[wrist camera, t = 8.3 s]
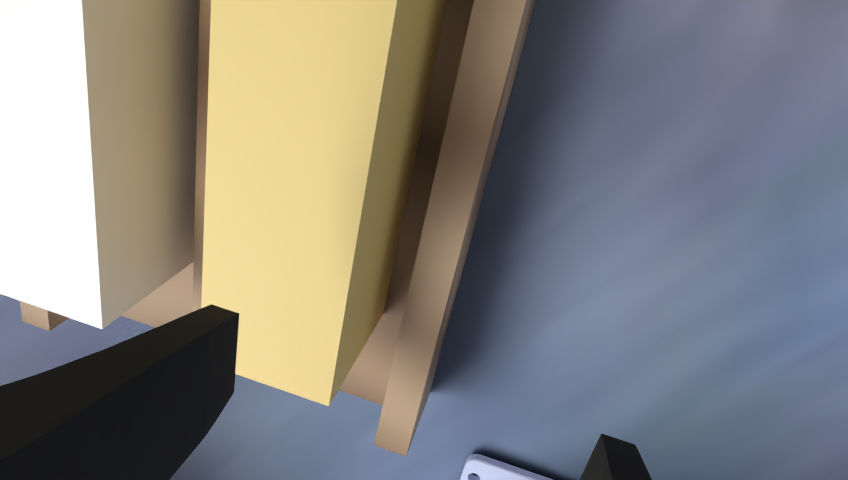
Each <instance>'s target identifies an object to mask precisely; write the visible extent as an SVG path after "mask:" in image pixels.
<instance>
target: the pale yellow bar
mask: <svg viewBox="0 0 848 480" xmlns="http://www.w3.org/2000/svg"><path fill="white" fill-rule="evenodd" d="M447 1H448V0H211V19H210V50H209V81H208V113H207V144H206V175H205V206H204V238H203V269H202V300H201V308H203V307H206V306H208V305H211V304H212V305H215V306H218V307H221V308H224V309H227V310H230V311H233V312H236V313H239V326H238V340H237V355H236V369H235V374H237V375H240V376H243V377H246V378H249V379H252V380H254V381H257V382H260V383H263V384H266V385H269V386H272V387H275V388H278V389H280V390H283V391H286V392H289V393H292V394H295V395H298V396H301V397H304V398H306V399H309V400H312V401H315V402H318V403H321V404H324V405H327V406H329V405H330V403H331V402H332V400H333V398H334V397H335V395H336V393H337V392H338V390H339V388H340V386H341V385H342V383H343V381H344V380H345V378H346V376H347V375H348V373H349V371H350V369H351V368H352V366H353V364H354V363H355V361H356V359H357V358H358V356H359V354H360V352H361V351H362V349H363V347H364V346H365V344H366V342H367V341H368V339H369V337H370V336H371V334H372V332H373V330H374V329H375V327H376V325H377V324H378V322H379V320H380V319H381V317H382V315H383V313H384V308H385V303H386V298H387V294H388V289H389V284H390V279H391V274H392V269H393V264H394V260H395V255H396V250H397V245H398V240H399V235H400V230H401V225H402V221H403V216H404V211H405V206H406V201H407V196H408V191H409V186H410V182H411V177H412V172H413V167H414V162H415V157H416V152H417V148H418V143H419V138H420V133H421V128H422V123H423V118H424V113H425V109H426V104H427V99H428V94H429V89H430V84H431V79H432V74H433V70H434V65H435V60H436V55H437V50H438V45H439V40H440V36H441V31H442V26H443V21H444V16H445V11H446V6H447Z"/></svg>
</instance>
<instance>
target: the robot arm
mask: <svg viewBox="0 0 848 480" xmlns="http://www.w3.org/2000/svg"><path fill="white" fill-rule="evenodd" d="M238 326H239V313H236V312H233V311H230V310H227V309H224V308H221V307H218V306H215V305H212V304H211V305H208V306H206V307H203V308H201V309H198V310H196V311H193V312H191V313H189V314H186V315H184V316H182V317H179V318H177V319H175V320H173V321H170V322H168V323H166V324H163V325H161V326H159V327H157V328H154V329H152V330H150V331H147V332H145V333H142V334H140V335H138V336H135V337H133V338H131V339H128V340H126V341H123V342H121V343H119V344H116V345H114V346H112V347H109V348H107V349H104V350H102V351H99V352H96V353H94V354H91V355H88V356H86V357H83V358H80V359H78V360H75V361H72V362H70V363H67V364H64V365H62V366H59V367H56V368H54V369H51V370H49V371H46V372H43V373H40V374H37V375H34V376H31V377H28V378H25V379H22V380H19V381H16V382H12V383H9V384H6V385H2V386H0V480H169V479H170V478H171V477H172V476H173V474H174V473H175V472H176V471H177V470H178V468H179V467H180V466H181V465H182V464H183V462H184V461H185V460H186V459H187V458H188V456H189V455H190V454H191V453H192V452H193V450H194V449H195V448H196V447H197V446H198V444H199V443H200V442H201V441H202V440H203V438H204V437H205V436H206V434H207V433H208V431H209V430H210V429H211V427H212V426H213V424H214V423H215V421H216V420H217V418H218V417H219V415H220V413H221V412H222V410H223V409H224V407H225V405H226V404H227V402H228V401H229V399H230V398H231V396H232V394H233V393H234V384H235V369H236V355H237V340H238ZM471 473H475V474H477V475H478V476H476V475H473V474H471ZM460 480H553V479H550V478H547V477H544V476H541V475H538V474H535V473H533V472H530V471H527V470H524V469H521V468H518V467H515V466H512V465H509V464H506V463H504V462H501V461H498V460H495V459H492V458H489V457H486V456H483V455H480V454H472V455H470V456H468V458H467V460H466V463H465V466H464V469H463V472H462V475H461V478H460ZM580 480H652V479H651V477H650V475H649V473H648V471H647V468H646V466H645V464H644V462H643V460H642V458H641V455H640V453H639V451H638V449H637V447H636V446H635V445H634V444H631V443H628V442H625V441H622V440H619V439H616V438H613V437H610V436H607V435H604V434H601V436H600V438H599V440H598V442H597V444H596V446H595V448H594V451H593V453H592V455H591V457H590V459H589V461H588V463H587V466H586V468H585V470H584V472H583V474H582V476H581V478H580Z"/></svg>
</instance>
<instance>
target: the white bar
mask: <svg viewBox="0 0 848 480" xmlns="http://www.w3.org/2000/svg"><path fill="white" fill-rule="evenodd" d="M199 14H200V0H0V294H2V295H5V296H8V297H11V298H14V299H17V300H20V301H22V302H25V303H28V304H31V305H34V306H37V307H40V308H43V309H46V310H48V311H51V312H54V313H57V314H60V315H63V316H66V317H69V318H71V319H74V320H77V321H80V322H83V323H86V324H89V325H92V326H94V327H97V328H100V329H103V328H105V327H106V326H107V325H109V324H110V323H111V322H113V321H114V320H115V319H117V318H118V317H120V316H121V315H122V314H124V313H125V312H126V311H128V310H129V309H130V308H132V307H133V306H134V305H136V304H137V303H138V302H140V301H141V300H142V299H144V298H145V297H146V296H148V295H149V294H151V293H152V292H153V291H155V290H156V289H157V288H159V287H160V286H161V285H163V284H164V283H165V282H167V281H168V280H169V279H171V278H172V277H173V276H175V275H176V274H177V273H179V272H180V271H182V270H183V269H184V268H186V267H187V266H188V265H190V264H191V263H192V262H194V222H195V181H196V139H197V97H198V55H199Z"/></svg>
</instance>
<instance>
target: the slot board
mask: <svg viewBox="0 0 848 480" xmlns="http://www.w3.org/2000/svg"><path fill="white" fill-rule="evenodd" d="M535 1H536V0H448V1H447V6H446V11H445V16H444V21H443V26H442V31H441V36H440V40H439V45H438V50H437V55H436V60H435V65H434V70H433V74H432V79H431V84H430V89H429V94H428V99H427V104H426V109H425V113H424V118H423V123H422V128H421V133H420V138H419V143H418V148H417V152H416V157H415V162H414V167H413V172H412V177H411V182H410V186H409V191H408V196H407V201H406V206H405V211H404V216H403V221H402V225H401V230H400V235H399V240H398V245H397V250H396V255H395V260H394V264H393V269H392V274H391V279H390V284H389V289H388V294H387V298H386V303H385V308H384V313H383V315H382V317H381V319H380V320H379V322H378V324H377V325H376V327H375V329H374V330H373V332H372V334H371V336H370V337H369V339H368V341H367V342H366V344H365V346H364V347H363V349H362V351H361V352H360V354H359V356H358V358H357V359H356V361H355V363H354V364H353V366H352V368H351V369H350V371H349V373H348V375H347V376H346V378H345V380H344V381H343V383H342V385H341V386H340V388H339V390H340V391H343V392H346V393H349V394H352V395H355V396H358V397H360V398H363V399H366V400H369V401H372V402H375V403H378V404H381V405H383V408H382V412H381V416H380V421H379V425H378V430H377V434H376V439H375V443H374V445H375V446H378V447H381V448H384V449H387V450H389V451H392V452H395V453H398V454H401V455H404V456H407V453H408V450H409V448H410V445H411V442H412V440H413V437H414V434H415V431H416V429H417V426H418V423H419V421H420V418H421V415H422V412H423V410H424V407H425V404H426V402H427V399H428V396H429V393H430V390H431V386H432V383H433V379H434V375H435V371H436V368H437V364H438V360H439V357H440V353H441V349H442V346H443V342H444V338H445V334H446V331H447V327H448V323H449V320H450V316H451V312H452V309H453V305H454V301H455V297H456V294H457V290H458V286H459V283H460V279H461V275H462V271H463V268H464V264H465V260H466V257H467V253H468V249H469V246H470V242H471V238H472V234H473V231H474V227H475V223H476V220H477V216H478V212H479V209H480V205H481V201H482V197H483V194H484V190H485V186H486V183H487V179H488V175H489V172H490V168H491V164H492V160H493V157H494V153H495V149H496V146H497V142H498V138H499V134H500V131H501V127H502V123H503V120H504V116H505V112H506V109H507V105H508V101H509V97H510V94H511V90H512V86H513V83H514V79H515V75H516V72H517V68H518V64H519V60H520V57H521V53H522V49H523V46H524V42H525V38H526V34H527V31H528V27H529V23H530V20H531V16H532V12H533V9H534V5H535ZM210 19H211V0H200V14H199V55H198V97H197V139H196V181H195V222H194V262H192V263H191V264H190V265H188V266H187V267H186V268H184V269H183V270H182V271H180V272H179V273H177V274H176V275H175V276H173V277H172V278H171V279H169V280H168V281H167V282H165V283H164V284H163V285H161V286H160V287H159V288H157V289H156V290H155V291H153V292H152V293H151V294H149V295H148V296H146V297H145V298H144V299H142V300H141V301H140V302H138V303H137V304H136V305H134V306H133V307H132V308H130V309H129V310H128V311H126V312H125V313H124V314H122V315H121V316H124V317H127V318H130V319H132V320H135V321H138V322H141V323H144V324H147V325H150V326H153V327H156V328H157V327H159V326H161V325H163V324H166V323H168V322H170V321H173V320H175V319H177V318H179V317H182V316H184V315H186V314H189V313H191V312H193V311H196V310H198V309H201V300H202V269H203V238H204V206H205V175H206V144H207V113H208V81H209V50H210ZM20 306H21V313H22V320H23V322H26V323H29V324H32V325H35V326H37V327H40V328H43V329H46V330H49V331H50V330H52V329H53V328H55V327H56V326H58V325H59V324H61V323H62V322H64V321H65V320H67V319H68V318H69V317H66V316H63V315H60V314H57V313H54V312H51V311H48V310H46V309H43V308H40V307H37V306H34V305H31V304H28V303H25V302H22V301H20Z"/></svg>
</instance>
